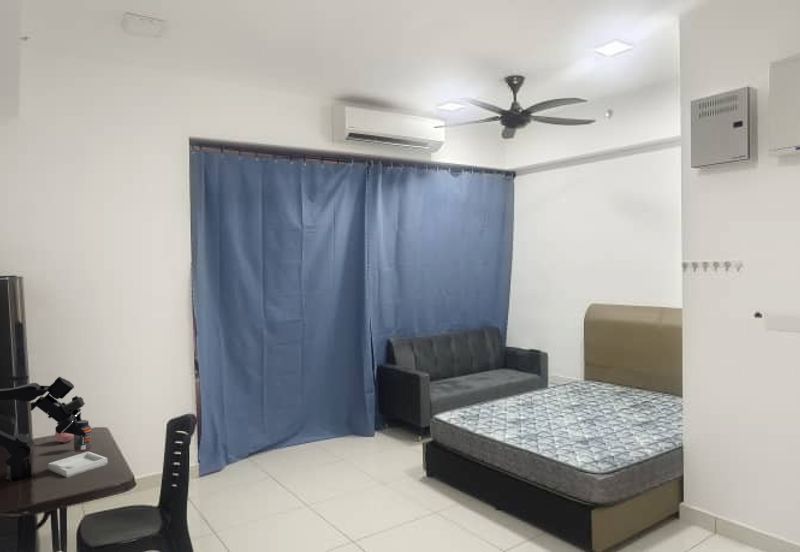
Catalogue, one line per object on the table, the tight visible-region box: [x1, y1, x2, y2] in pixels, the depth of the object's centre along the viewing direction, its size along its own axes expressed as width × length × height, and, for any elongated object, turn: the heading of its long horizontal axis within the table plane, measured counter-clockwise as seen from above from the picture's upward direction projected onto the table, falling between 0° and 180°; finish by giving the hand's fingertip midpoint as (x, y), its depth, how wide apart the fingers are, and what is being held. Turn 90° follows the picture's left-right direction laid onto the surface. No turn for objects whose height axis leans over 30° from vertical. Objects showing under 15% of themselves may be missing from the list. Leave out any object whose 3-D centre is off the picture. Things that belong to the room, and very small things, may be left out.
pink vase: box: [54, 431, 74, 444], centre depth 243 cm, size 8×8×12 cm
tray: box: [48, 450, 109, 478], centre depth 212 cm, size 15×15×2 cm
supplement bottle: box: [73, 419, 93, 453], centre depth 210 cm, size 6×6×11 cm
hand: (86, 432), depth 211 cm, fingers closed on supplement bottle, 6 cm apart
